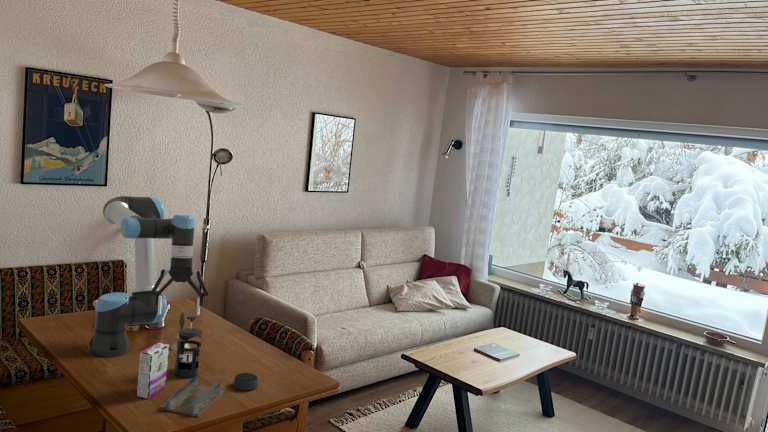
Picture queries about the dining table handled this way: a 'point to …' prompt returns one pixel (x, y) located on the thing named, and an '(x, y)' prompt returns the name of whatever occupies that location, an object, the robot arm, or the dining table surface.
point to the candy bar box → (152, 370)
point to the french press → (188, 359)
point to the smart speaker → (246, 381)
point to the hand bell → (174, 345)
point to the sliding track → (193, 398)
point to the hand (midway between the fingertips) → (178, 314)
